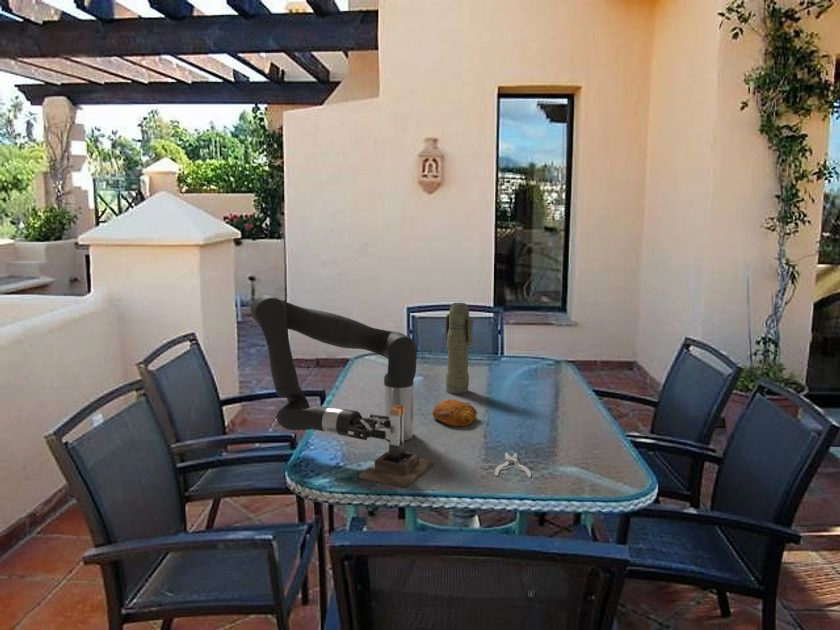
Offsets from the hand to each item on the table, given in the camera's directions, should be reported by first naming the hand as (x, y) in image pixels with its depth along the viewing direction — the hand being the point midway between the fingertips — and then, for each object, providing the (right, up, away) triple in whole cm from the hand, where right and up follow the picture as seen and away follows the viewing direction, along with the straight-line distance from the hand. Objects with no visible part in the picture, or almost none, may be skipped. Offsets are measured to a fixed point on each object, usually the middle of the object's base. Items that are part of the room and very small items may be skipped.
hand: (392, 430), depth 191 cm
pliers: (+34, -12, +6) cm, 36 cm away
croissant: (+20, -4, +46) cm, 50 cm away
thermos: (+22, +2, +81) cm, 84 cm away
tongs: (+1, -10, +1) cm, 11 cm away
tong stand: (+1, -11, +1) cm, 12 cm away
